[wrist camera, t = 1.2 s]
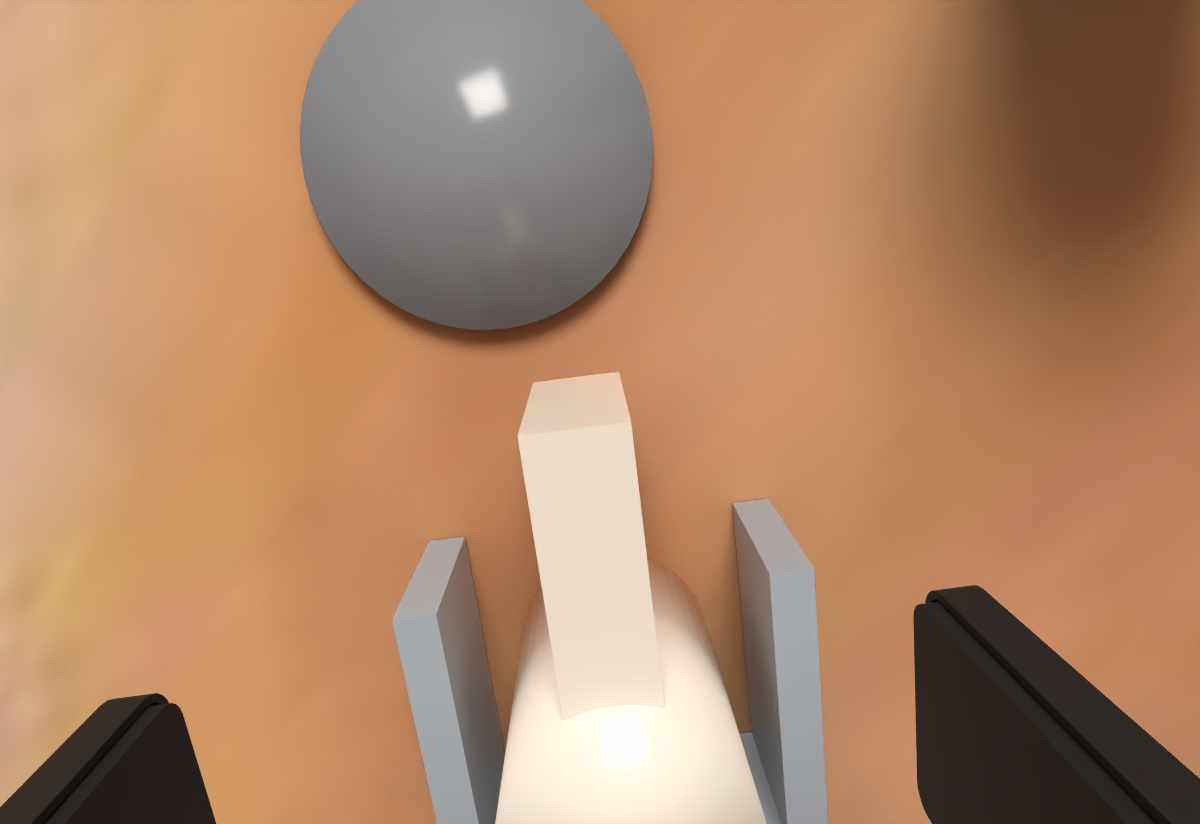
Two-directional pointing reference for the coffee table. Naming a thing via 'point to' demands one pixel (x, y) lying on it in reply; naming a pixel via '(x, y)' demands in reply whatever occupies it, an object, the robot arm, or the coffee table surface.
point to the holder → (773, 664)
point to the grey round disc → (476, 154)
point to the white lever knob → (610, 643)
